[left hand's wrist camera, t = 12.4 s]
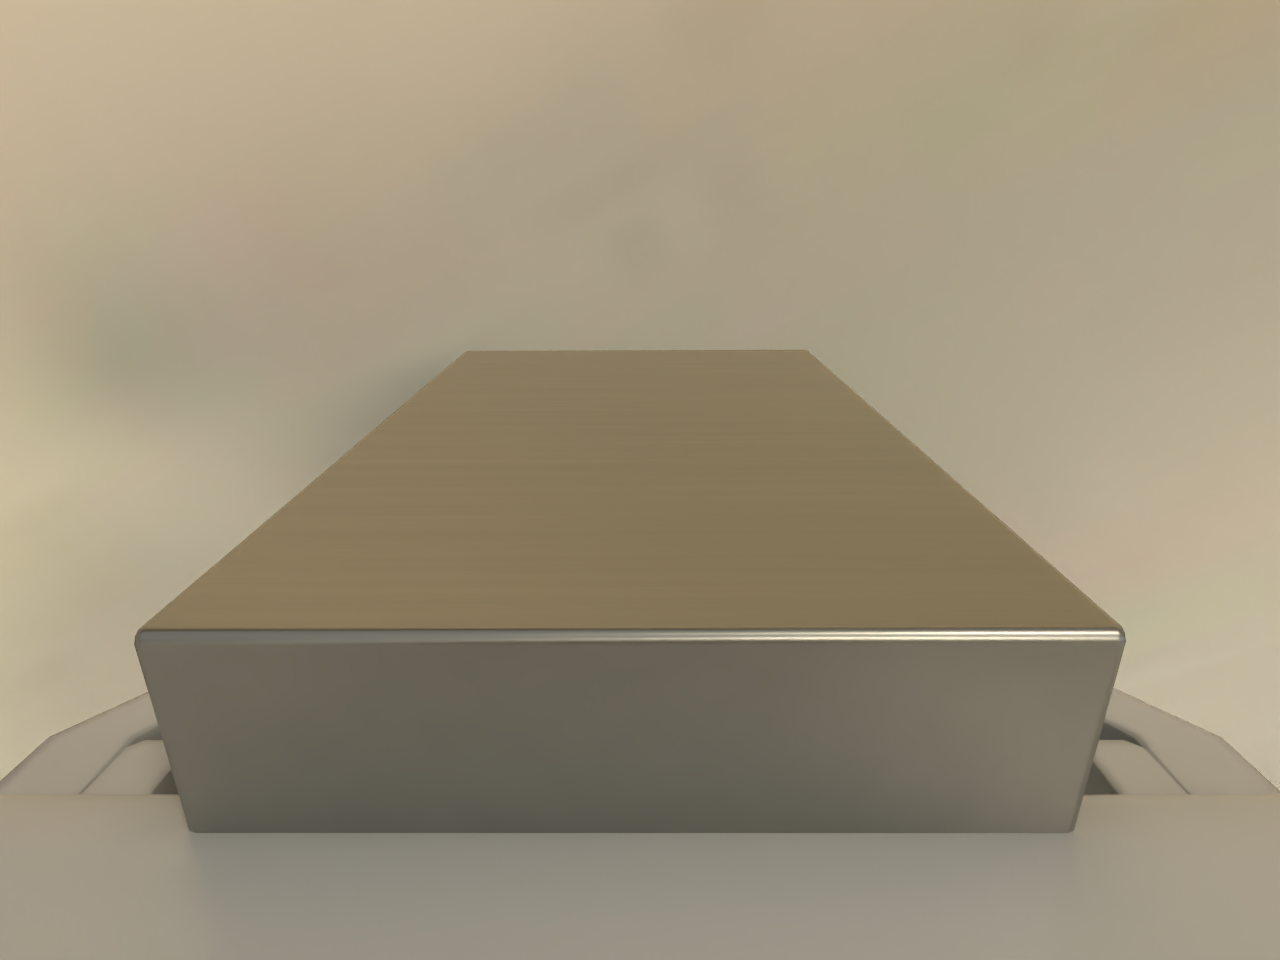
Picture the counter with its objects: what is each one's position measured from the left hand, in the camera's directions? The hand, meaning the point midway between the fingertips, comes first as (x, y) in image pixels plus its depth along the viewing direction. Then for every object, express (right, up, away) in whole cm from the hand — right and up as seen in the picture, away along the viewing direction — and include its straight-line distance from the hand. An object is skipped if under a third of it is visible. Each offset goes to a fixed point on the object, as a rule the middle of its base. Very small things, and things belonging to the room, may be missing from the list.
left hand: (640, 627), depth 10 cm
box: (0, -7, +6) cm, 10 cm away
